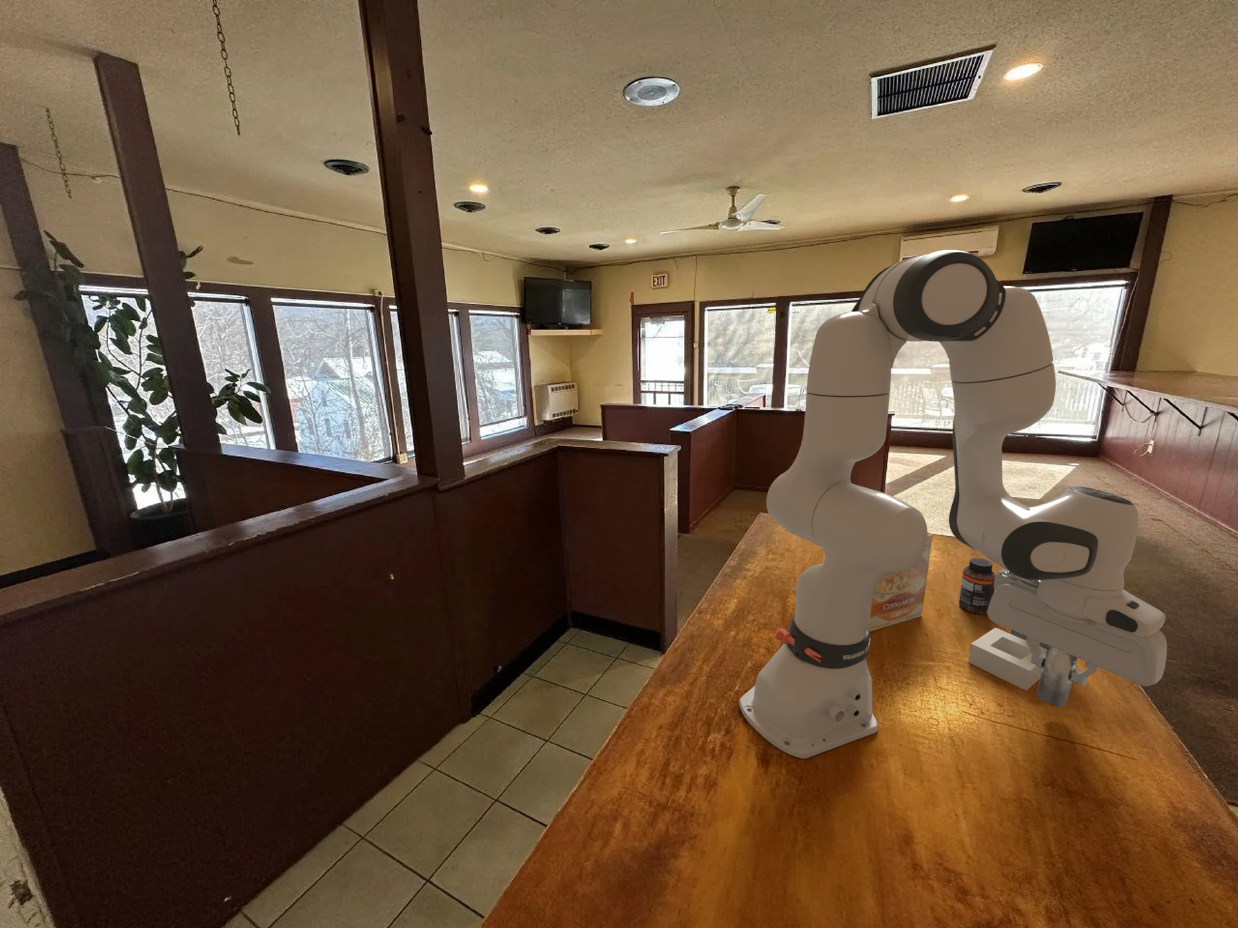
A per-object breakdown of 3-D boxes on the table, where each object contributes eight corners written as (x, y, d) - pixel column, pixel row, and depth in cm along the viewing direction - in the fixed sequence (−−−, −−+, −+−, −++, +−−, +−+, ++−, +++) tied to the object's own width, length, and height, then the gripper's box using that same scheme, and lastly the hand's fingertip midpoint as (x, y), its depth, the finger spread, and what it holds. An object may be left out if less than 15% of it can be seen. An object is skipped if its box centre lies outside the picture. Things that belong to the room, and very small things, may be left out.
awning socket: (1036, 695, 82) (1053, 617, 78) (959, 657, 92) (970, 586, 88) (1075, 662, 89) (1092, 589, 85) (999, 630, 99) (1011, 564, 95)
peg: (1060, 709, 75) (1074, 653, 72) (1032, 695, 78) (1045, 640, 75) (1070, 701, 76) (1085, 645, 74) (1042, 687, 79) (1055, 633, 77)
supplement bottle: (980, 600, 110) (987, 555, 107) (997, 615, 104) (1005, 567, 101) (952, 600, 111) (959, 555, 108) (967, 615, 105) (975, 567, 102)
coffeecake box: (869, 632, 101) (877, 546, 96) (843, 615, 107) (850, 533, 102) (924, 617, 105) (934, 534, 100) (896, 600, 112) (905, 522, 107)
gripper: (987, 570, 80) (973, 644, 83) (1166, 634, 62) (1139, 723, 66) (1006, 562, 83) (992, 633, 86) (1183, 620, 65) (1156, 706, 69)
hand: (1057, 673), depth 76 cm, fingers closed on peg, 4 cm apart
